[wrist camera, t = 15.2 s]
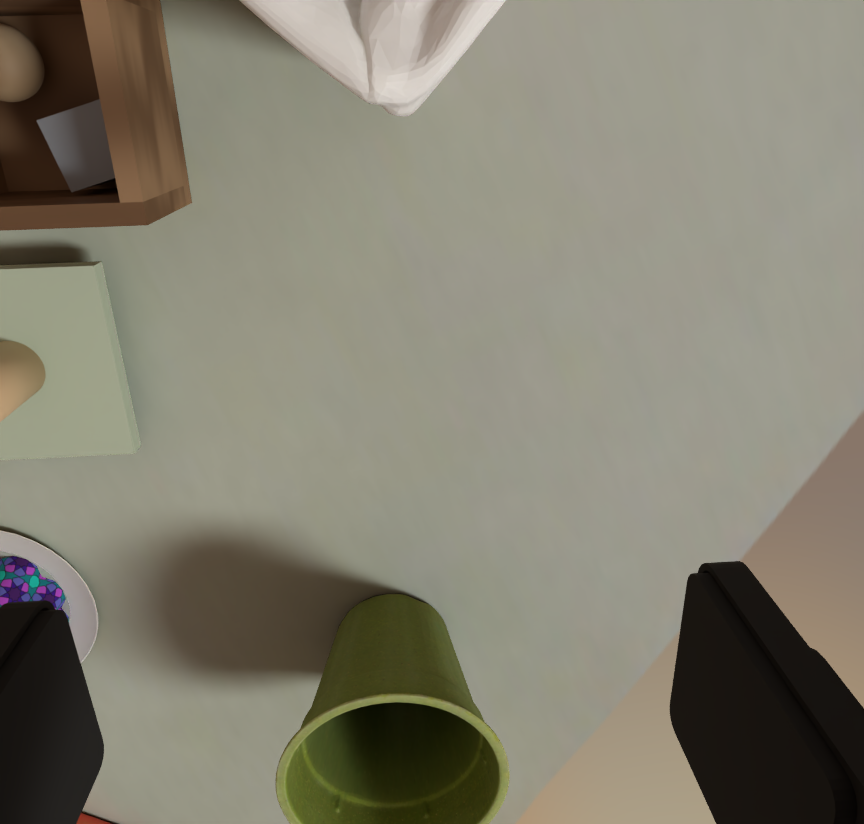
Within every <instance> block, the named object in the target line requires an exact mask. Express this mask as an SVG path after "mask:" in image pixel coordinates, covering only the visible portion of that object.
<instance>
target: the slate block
mask: <svg viewBox="0 0 864 824" xmlns="http://www.w3.org/2000/svg"><path fill="white" fill-rule="evenodd" d="M37 123H38V125H39V127H40V129H41V131H42V133H43V135H44V137H45V139H46V141H47V143H48V145H49V147H50V149H51V151H52V153H53V155H54V158H55V160H56V162H57V164H58V166H59V168H60V170H61V172H62V174H63V176H64V178H65V180H66V182H67V184H68V186H69V188H70V190H71V192H75V191H78V190H82V189H86V188H89V187H93V186H96V185H100V184H103V183H106V182H109V181H112V180H115V174H114V169H113V164H112V159H111V154H110V149H109V144H108V139H107V133H106V128H105V123H104V118H103V113H102V108H101V103H100V99H99V100H96V101H93V102H90V103H87V104H84V105H81V106H78V107H75V108H72V109H69V110H66V111H63V112H60V113H57V114H54V115H51V116H48V117H45V118H42V119H39V120H37Z"/></svg>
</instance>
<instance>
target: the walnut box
mask: <svg viewBox="0 0 864 824" xmlns="http://www.w3.org/2000/svg"><path fill="white" fill-rule="evenodd" d="M0 23H1V24H5V25H8V26H11V27H13V28H16V29H17V30H19V31H21V32H22V33H23V34H25V35H26V36H27V37H28V38H29V39H30V40H31V41H32V42H33V43H34V44H35V46H36V47H37V49H38V50H39V52H40V54H41V57H42V59H43V63H44V80H43V83H42V85H41V87H40V89H39V90H38V91H37V93H36V94H34V95H33V96H32V97H30V98H29V99H26V100H24V101H20V102H5V101H0V230H26V229H53V228H81V227H108V226H136V225H149V224H151V223H153V222H155V221H157V220H159V219H161V218H163V217H165V216H166V215H168V214H170V213H172V212H174V211H176V210H178V209H180V208H182V207H184V206H186V205H188V204H190V203H192V200H191V194H190V188H189V181H188V175H187V168H186V162H185V156H184V149H183V143H182V137H181V130H180V124H179V118H178V111H177V105H176V99H175V92H174V86H173V80H172V73H171V67H170V60H169V54H168V48H167V41H166V35H165V29H164V22H163V16H162V10H161V3H160V0H0ZM99 99H100V103H101V108H102V113H103V118H104V123H105V128H106V133H107V139H108V144H109V149H110V154H111V159H112V164H113V169H114V174H115V180H112V181H109V182H106V183H103V184H100V185H96V186H93V187H89V188H86V189H82V190H78V191H75V192H71V190H70V188H69V186H68V184H67V182H66V180H65V178H64V176H63V174H62V172H61V170H60V168H59V166H58V164H57V162H56V160H55V158H54V155H53V153H52V151H51V149H50V147H49V145H48V143H47V141H46V139H45V137H44V135H43V133H42V131H41V129H40V127H39V125H38V123H37V120H39V119H42V118H45V117H48V116H51V115H54V114H57V113H60V112H63V111H66V110H69V109H72V108H75V107H78V106H81V105H84V104H87V103H90V102H93V101H96V100H99Z"/></svg>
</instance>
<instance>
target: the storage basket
mask: <svg viewBox="0 0 864 824" xmlns="http://www.w3.org/2000/svg"><path fill="white" fill-rule="evenodd" d="M239 1H240V2H242V3H243V4H244V5H245V6H246V7H247V8H248V9H249V10H251V11H252V12H253V13H254V14H255V15H256V16H257V17H258V18H260V19H261V20H262V21H263V22H264V23H265V24H266V25H268V26H269V27H270V28H271V29H272V30H274V31H275V32H276V33H277V34H279V35H280V36H281V37H282V38H283V39H285V40H286V41H287V42H288V43H290V44H291V45H292V46H293V47H294V48H296V49H297V50H298V51H299V52H300V53H302V54H303V55H304V56H305V57H307V58H308V59H309V60H310V61H312V62H313V63H314V64H316V65H317V66H318V67H320V68H321V69H322V70H324V71H325V72H326V73H328V74H329V75H330V76H332V77H333V78H334V79H336V80H337V81H338V82H340V83H341V84H342V85H344V86H345V87H346V88H348V89H349V90H350V91H352V92H353V93H354V94H356V95H357V96H358V97H360V98H361V99H363V100H365V101H366V102H368V103H369V104H378V105H380V106H382V107H383V108H384V109H385V110H386V111H387V112H388V113H390V114H392V115H395V116H408V115H410V114H412V113H413V112H414V111H416V110H417V109H418V108H419V107H420V106H421V105H422V103H423V102H424V101H425V100H426V99H427V98H428V96H429V95H430V94H431V93H432V92H433V90H434V89H435V88H436V87H437V86H438V84H439V83H440V82H441V81H442V80H443V78H444V77H445V76H446V75H447V73H448V72H449V71H450V70H451V69H452V67H453V66H454V65H455V64H456V63H457V61H458V60H459V59H460V58H461V57H462V55H463V54H464V53H465V52H466V51H467V49H468V48H469V47H470V45H471V44H472V43H473V42H474V40H475V39H476V38H477V36H478V35H479V34H480V32H481V31H482V30H483V28H484V27H485V26H486V25H487V23H488V22H489V21H490V20H491V18H492V17H493V16H494V15H495V13H496V12H497V11H498V10H499V8H500V7H501V6H502V5H503V3H504V2H505V1H506V0H239Z"/></svg>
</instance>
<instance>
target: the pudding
mask: <svg viewBox="0 0 864 824" xmlns="http://www.w3.org/2000/svg"><path fill="white" fill-rule="evenodd" d="M0 551H3V552H7V553H11V554H15V555H18V556H20V557H23V558H26V559H28V560H30V561H31V562H33V563H35V564H37V565H38V566H40V567H41V568H43V569H44V570H45V571H47V572H48V573H49V574H50V575H51V576H52V577H53V578H54V579H55V580H56V581H57V582H58V584H59V585H60V586H59V585H58V584H57V583H56V582H55V581H53V580H50V579H47V578H44V577H41V575H40V573H39V570H38V568H37V566H36V565H34V564H33V563H31V562H29V561H28V560H26V559H23V558H20V557H16V556H11V557H7V558H2V559H1V558H0V607H1V606H2V605H3V604H6V603H8V602H25V601H42V600H46V601H50V602H51V603H52V604H53V605H54V607H55V610H62V608H61V607H62V605H63V603H64V601H65V596H64V593H65V595H66V597H67V600H68V604H69V607H70V621H69V617H68V616H67V615H66V616H67V618H68V622H69V625H70V629H71V632H72V636H73V639H74V643H75V646H76V649H77V653H78V656H79V660H80V663H82V662H83V660H84V659H85V658H86V656H87V655H88V654H89V653H90V651H91V649H92V647H93V645H94V643H95V640H96V636H97V631H98V612H97V608H96V604H95V600H94V598H93V596H92V594H91V592H90V590H89V588H88V586H87V584H86V583H85V582H84V580H83V579H82V578H81V576H80V575H79V573H78V572H77V571H76V570H75V569H74V568H73V567H72V566H71V565H70V564H69V563H68V562H67V561H65V560H64V559H63V558H61V557H60V556H59V555H57V554H56V553H55V552H53V551H52V550H50V549H48V548H46V547H45V546H43V545H41V544H39V543H37V542H35V541H33V540H31V539H28V538H25V537H23V536H20V535H17V534H14V533H9V532H5V531H1V530H0ZM61 588H62V589H63V590H62V589H61ZM63 591H64V593H63ZM65 614H66V613H65Z"/></svg>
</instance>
